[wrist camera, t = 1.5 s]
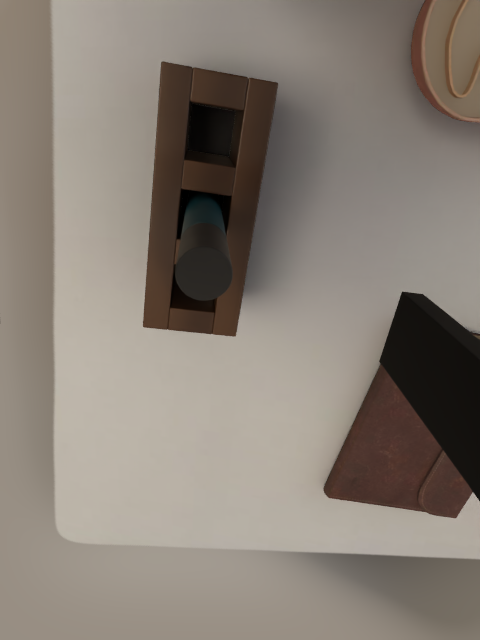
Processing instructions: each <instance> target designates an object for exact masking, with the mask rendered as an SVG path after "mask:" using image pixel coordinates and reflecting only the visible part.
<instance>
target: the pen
mask: <svg viewBox="0 0 480 640" xmlns="http://www.w3.org/2000/svg"><path fill="white" fill-rule="evenodd" d="M175 278H176V281H177V284H178V286H179V288H180V289H181V290H182V291H183V292H184V293H185V294H186V295H187V296H189V297H191V298H193V299H196V300H203V301H206V300H212V299H215V298H217V297H219V296H221V295H222V294H224V293H225V292H226V291H227V289H228V288H229V286H230V284H231V282H232V278H233V269H232V264H231V259H230V253H229V248H228V243H227V238H226V233H225V227H224V222H223V217H222V212H221V206H220V201H219V196H218V194H213V193H206V192H199V191H192V190H190V191H189V194H188V200H187V205H186V211H185V217H184V223H183V228H182V234H181V240H180V246H179V251H178V257H177V263H176V269H175Z"/></svg>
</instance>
